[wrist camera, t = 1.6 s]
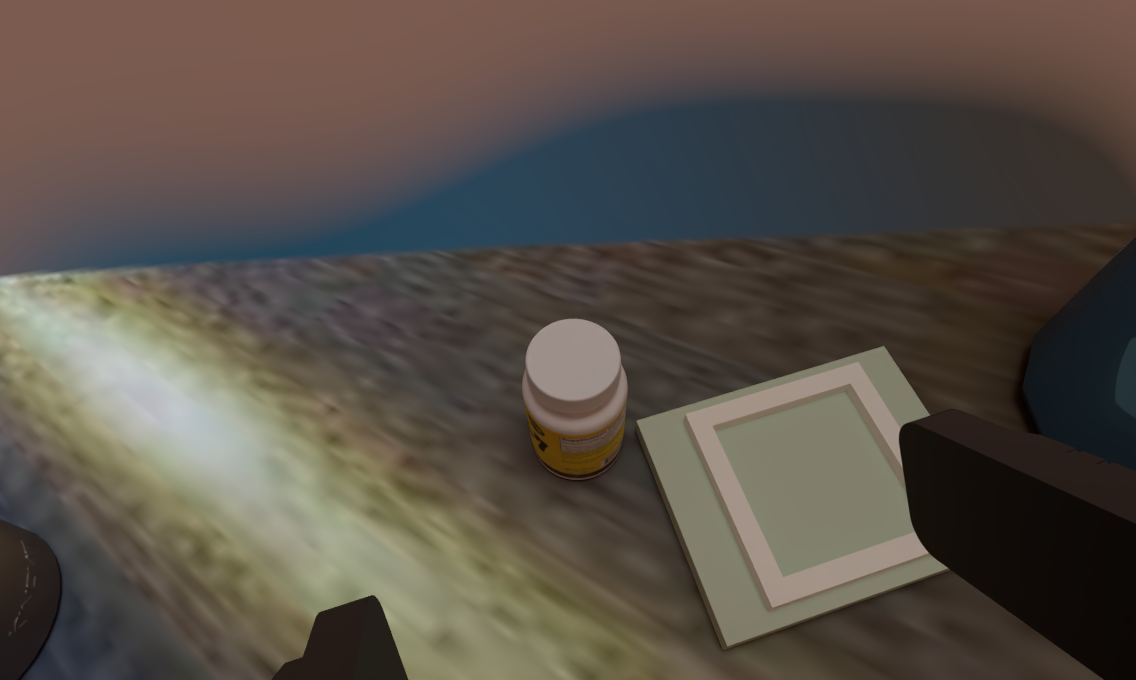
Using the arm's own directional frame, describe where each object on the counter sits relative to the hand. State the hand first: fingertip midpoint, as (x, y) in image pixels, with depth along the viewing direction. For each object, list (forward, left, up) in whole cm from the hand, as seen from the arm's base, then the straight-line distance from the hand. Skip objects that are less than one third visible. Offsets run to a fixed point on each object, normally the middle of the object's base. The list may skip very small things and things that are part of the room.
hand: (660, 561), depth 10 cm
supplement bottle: (+2, +12, -23) cm, 25 cm away
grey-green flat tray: (+12, +6, -22) cm, 26 cm away
